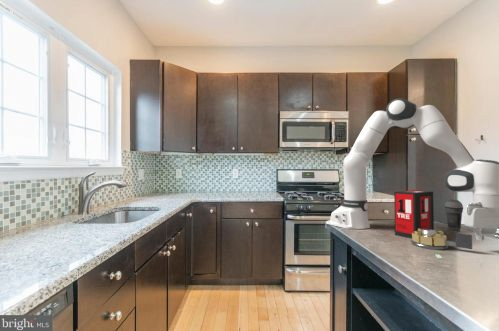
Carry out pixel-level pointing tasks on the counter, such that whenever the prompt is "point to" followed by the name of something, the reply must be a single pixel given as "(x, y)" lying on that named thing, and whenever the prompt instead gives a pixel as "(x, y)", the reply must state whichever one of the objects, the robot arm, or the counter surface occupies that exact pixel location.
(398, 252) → the counter surface
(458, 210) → the beverage cup
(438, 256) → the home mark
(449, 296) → the counter surface
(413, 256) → the counter surface
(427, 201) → the cleaning product box
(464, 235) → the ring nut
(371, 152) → the robot arm
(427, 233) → the flange
